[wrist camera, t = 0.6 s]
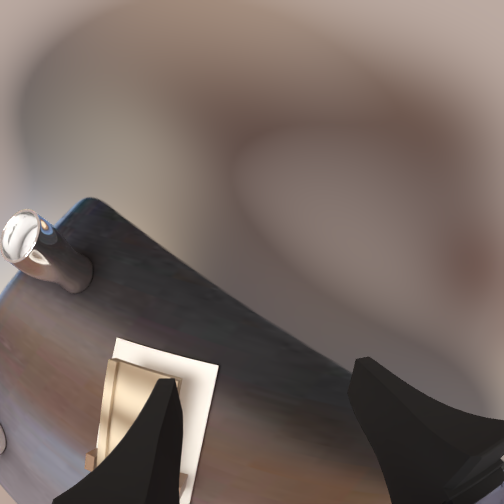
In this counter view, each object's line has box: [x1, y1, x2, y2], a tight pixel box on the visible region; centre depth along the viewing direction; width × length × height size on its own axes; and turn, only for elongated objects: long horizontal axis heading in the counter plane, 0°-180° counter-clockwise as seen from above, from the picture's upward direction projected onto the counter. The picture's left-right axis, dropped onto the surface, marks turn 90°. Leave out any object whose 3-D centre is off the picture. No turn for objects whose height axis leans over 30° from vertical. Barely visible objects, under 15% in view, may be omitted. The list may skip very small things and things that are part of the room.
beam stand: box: [85, 338, 219, 504], centre depth 29 cm, size 34×14×6 cm, turn 169°
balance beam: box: [97, 358, 183, 466], centre depth 26 cm, size 30×9×3 cm, turn 169°
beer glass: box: [0, 209, 93, 293], centre depth 34 cm, size 7×7×15 cm
